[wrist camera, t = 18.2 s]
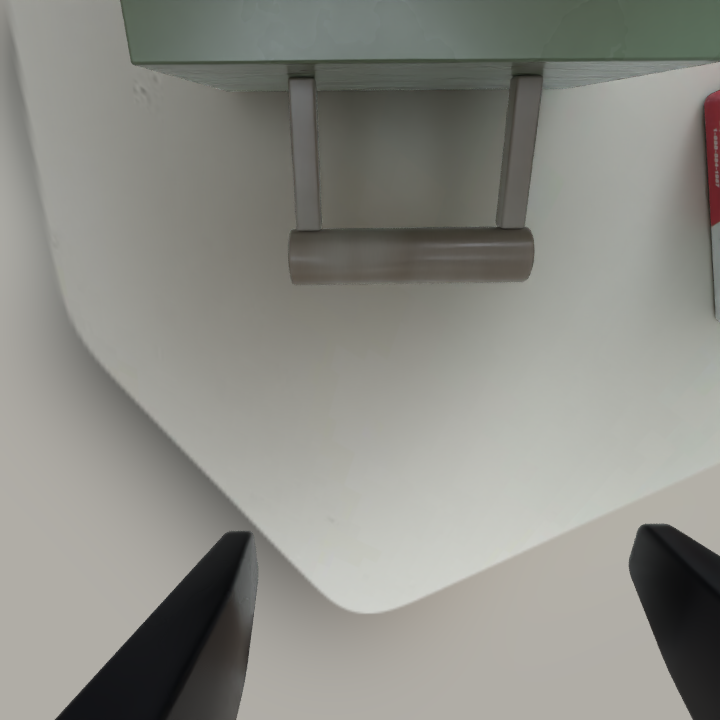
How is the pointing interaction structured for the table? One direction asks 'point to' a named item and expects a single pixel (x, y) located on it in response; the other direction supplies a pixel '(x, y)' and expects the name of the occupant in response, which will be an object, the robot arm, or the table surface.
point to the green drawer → (416, 72)
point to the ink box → (714, 184)
